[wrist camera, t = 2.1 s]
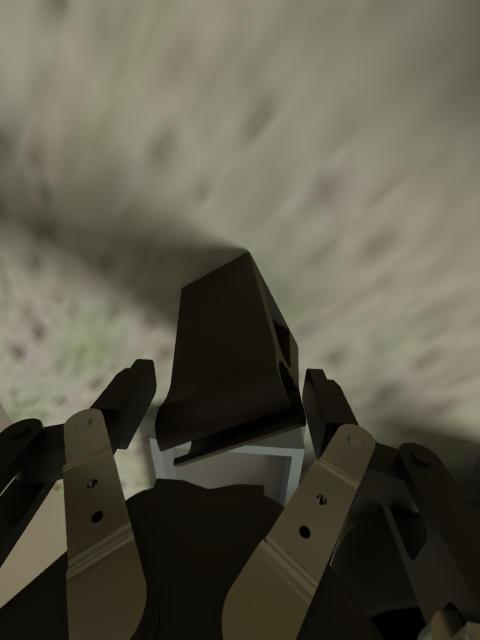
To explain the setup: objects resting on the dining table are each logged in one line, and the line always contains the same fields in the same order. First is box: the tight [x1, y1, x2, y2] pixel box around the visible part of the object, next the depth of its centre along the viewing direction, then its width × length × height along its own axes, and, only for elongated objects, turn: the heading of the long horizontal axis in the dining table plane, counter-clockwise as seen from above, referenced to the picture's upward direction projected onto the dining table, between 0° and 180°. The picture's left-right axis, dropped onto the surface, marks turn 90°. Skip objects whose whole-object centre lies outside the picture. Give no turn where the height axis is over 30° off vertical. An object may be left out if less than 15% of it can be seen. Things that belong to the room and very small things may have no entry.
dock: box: [149, 407, 307, 507], centre depth 27 cm, size 15×15×3 cm
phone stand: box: [155, 252, 306, 467], centre depth 16 cm, size 9×6×12 cm, turn 28°
